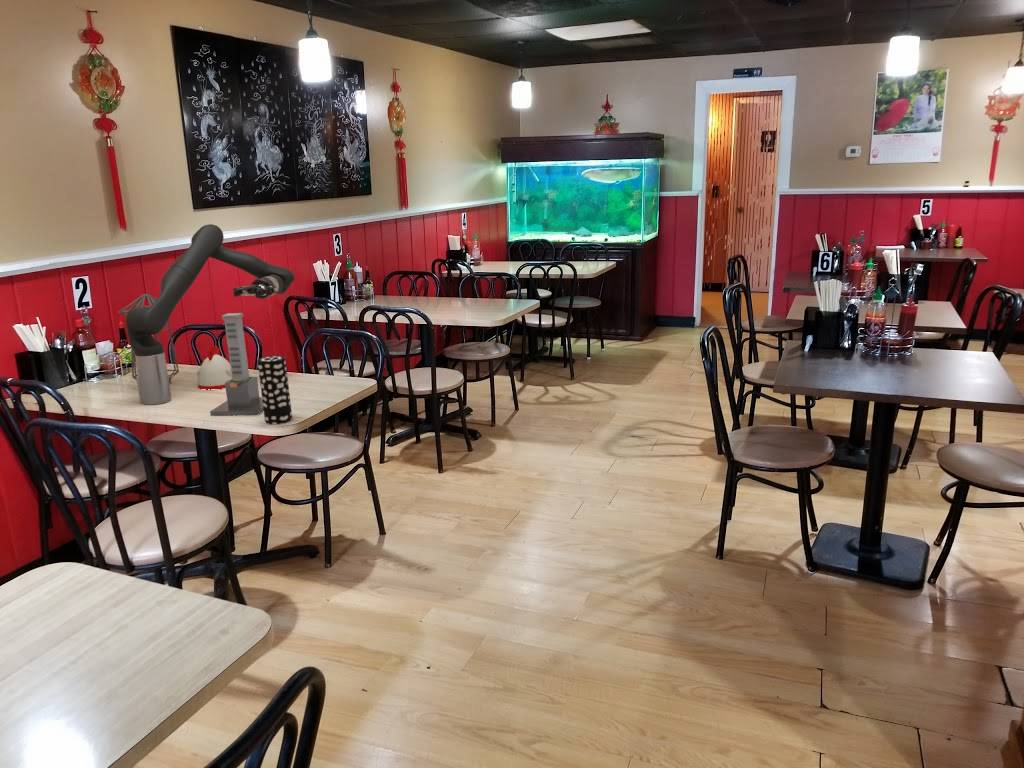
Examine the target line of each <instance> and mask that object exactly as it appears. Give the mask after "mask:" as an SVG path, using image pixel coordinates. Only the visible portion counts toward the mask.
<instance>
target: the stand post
mask: <svg viewBox="0 0 1024 768" xmlns="http://www.w3.org/2000/svg"><path fill="white" fill-rule="evenodd" d="M243 318H244V313H243V312H238V313H237V312H235V313H231V312H230V313H226V314H223V315H221V320H223V321H224V327H225V329H224V330H225V335H226V343H227V349H228V357H229V363H230V366H231V373H232V380H233V382H246V381H248V380H249V379H250V378H249V377H250V374H249V373H250V372H249V371H250V370H249V364H248V355H247V349H246V348H247V347H246V342H245V341H246V340H245V332H244V324H243Z"/></svg>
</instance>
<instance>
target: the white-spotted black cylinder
mask: <svg viewBox="0 0 1024 768" xmlns="http://www.w3.org/2000/svg"><path fill="white" fill-rule="evenodd" d="M286 361H287V360H286V356H284V355H268V356H264V357H260V358H257V367H258V376H259V383H260V384H259V385H260V393H261V397H262V402H263V410H264V412H263V417H264V423H265V422H266V423H265V424H267V423H269V424H268V425H282V424H287V423H289V422H291V421H292V420H293V412H292V403H291V395H290V388H289V378H288V370H287V369H288V368H287V362H286Z"/></svg>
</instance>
